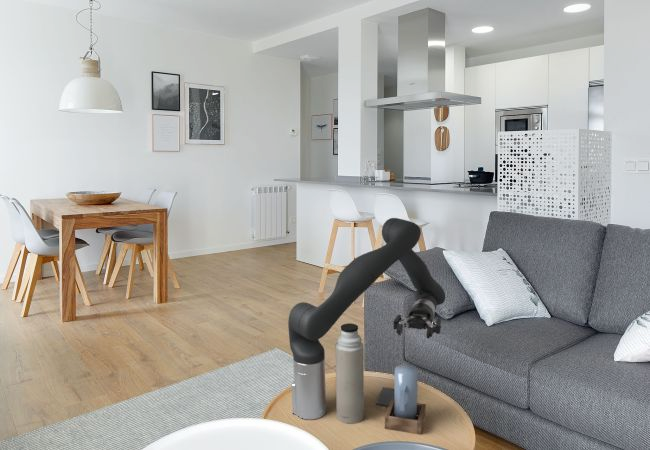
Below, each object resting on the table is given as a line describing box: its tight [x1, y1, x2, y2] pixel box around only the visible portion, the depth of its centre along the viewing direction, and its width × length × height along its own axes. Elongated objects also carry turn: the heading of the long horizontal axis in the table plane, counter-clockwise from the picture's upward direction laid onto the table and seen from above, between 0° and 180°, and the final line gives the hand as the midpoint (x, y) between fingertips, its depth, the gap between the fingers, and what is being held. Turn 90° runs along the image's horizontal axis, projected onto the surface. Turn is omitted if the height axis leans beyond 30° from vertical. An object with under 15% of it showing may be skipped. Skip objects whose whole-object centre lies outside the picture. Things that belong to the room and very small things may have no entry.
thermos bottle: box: [335, 322, 365, 424], centre depth 149 cm, size 8×8×28 cm
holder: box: [384, 399, 427, 435], centre depth 148 cm, size 10×10×4 cm
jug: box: [393, 364, 419, 420], centre depth 146 cm, size 6×9×16 cm
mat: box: [375, 386, 395, 408], centre depth 161 cm, size 10×10×1 cm
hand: (413, 333), depth 154 cm, fingers open, 8 cm apart
